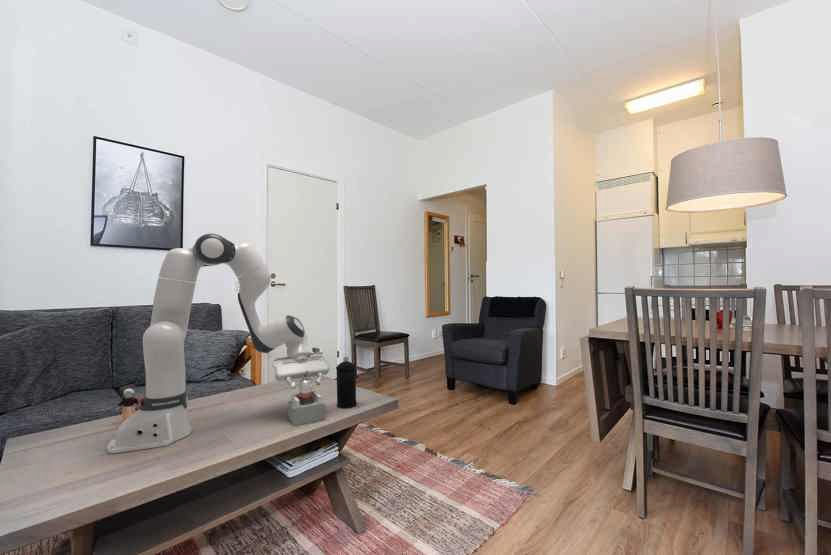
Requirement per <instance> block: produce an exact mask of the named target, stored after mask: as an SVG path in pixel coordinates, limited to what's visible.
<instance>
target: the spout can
mask: <svg viewBox="0 0 831 555" xmlns="http://www.w3.org/2000/svg"><path fill="white" fill-rule="evenodd" d="M307 374H308V371H306V372H305V376H302V378H300V379H299V381H298V382H299V384H298V385H299V386H298V389H299V390H298V391H299V392H298V394H299V399H300V403H310V402H312V391H313V379H312V378H310V377H309V376H307Z"/></svg>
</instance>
